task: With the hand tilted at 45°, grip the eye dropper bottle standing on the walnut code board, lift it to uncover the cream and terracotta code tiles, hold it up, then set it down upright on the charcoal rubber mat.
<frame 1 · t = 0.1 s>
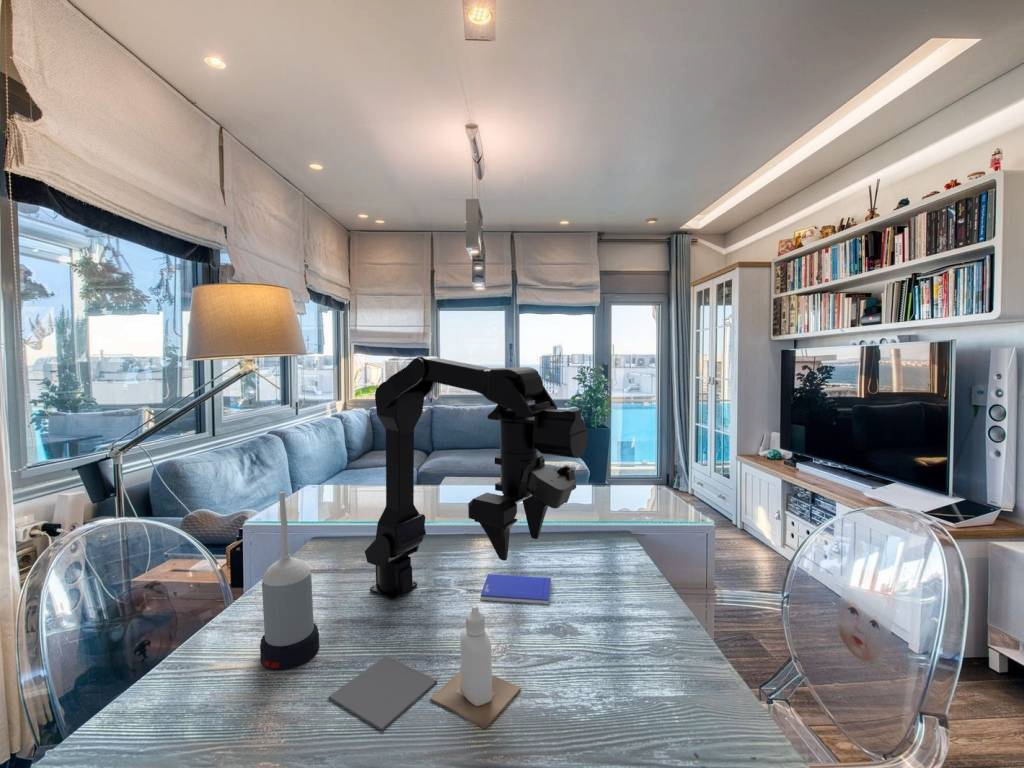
hand: (519, 548, 77), 15 cm above the table, tool pointing down, fingers open, 9 cm apart
hard drive: (516, 594, 93), on the table
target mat: (384, 690, 67), on the table
eye dropper bottle: (476, 693, 66), resting on code board
humidifier: (290, 654, 75), on the table
code board: (476, 694, 66), on the table
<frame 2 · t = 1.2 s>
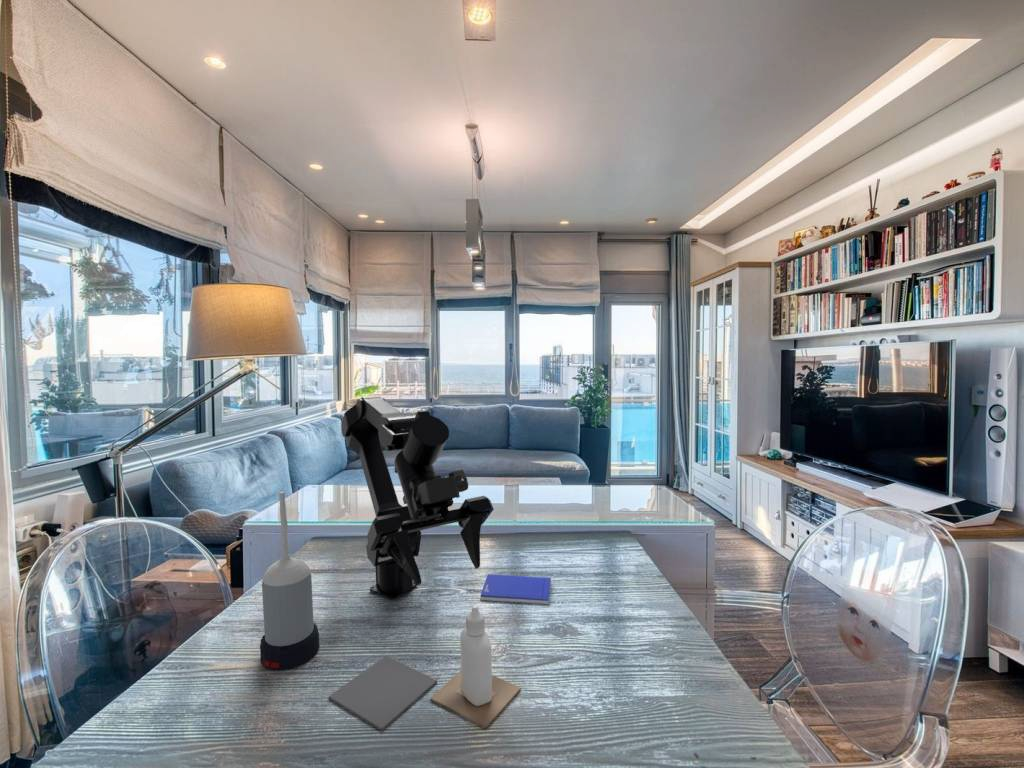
hand: (449, 575, 71), 13 cm above the table, tool tilted 45°, fingers open, 9 cm apart
nothing on the table moved.
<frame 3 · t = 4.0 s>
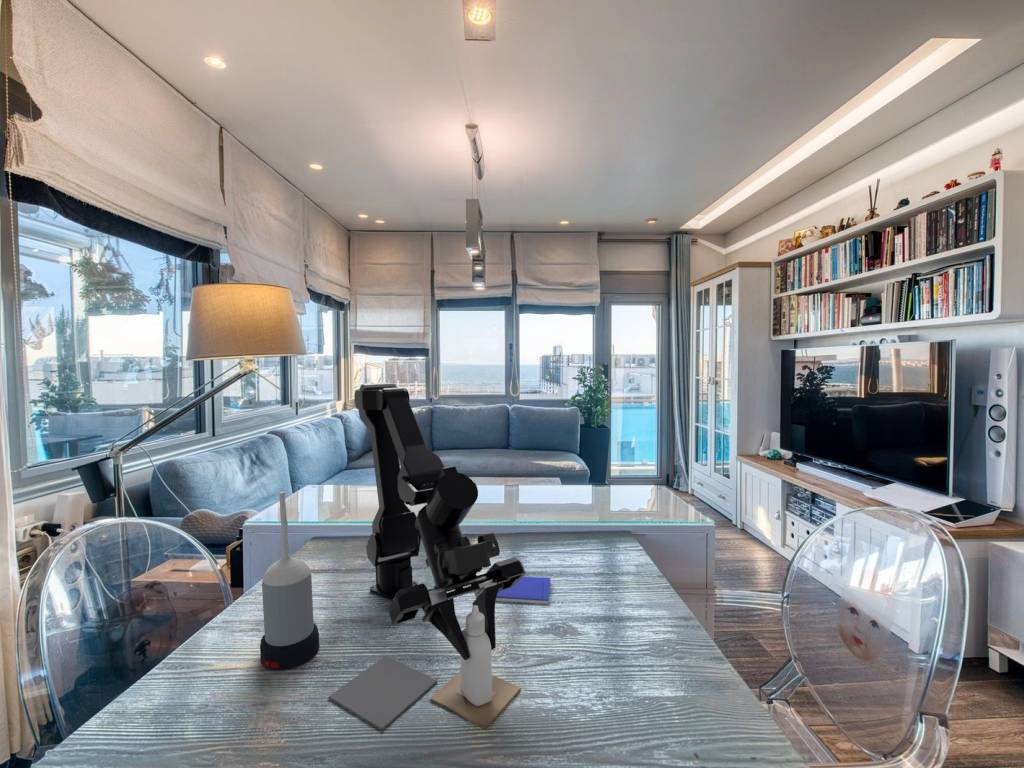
hand: (480, 654, 64), 7 cm above the table, tool tilted 45°, fingers closed on eye dropper bottle, 3 cm apart
eye dropper bottle: (476, 693, 66), resting on code board, touching gripper
everything else where it was.
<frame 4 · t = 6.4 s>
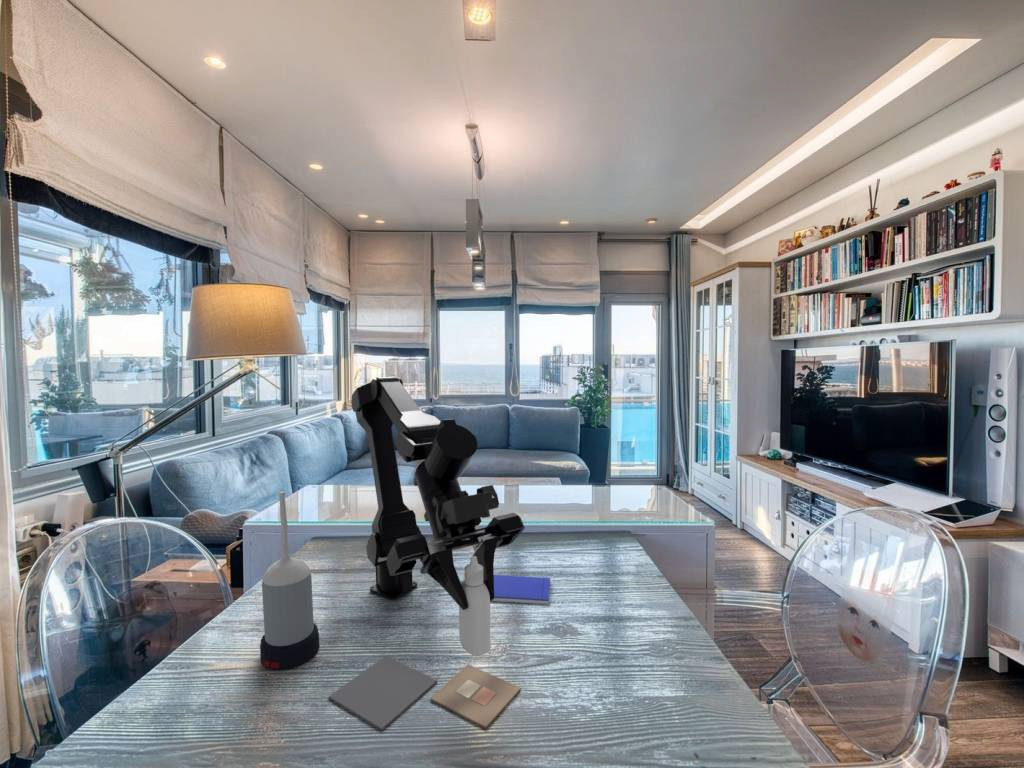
hand: (479, 604, 64), 13 cm above the table, tool tilted 45°, fingers closed on eye dropper bottle, 3 cm apart
eye dropper bottle: (474, 645, 66), point 7 cm above the table, touching gripper
everything else where it was.
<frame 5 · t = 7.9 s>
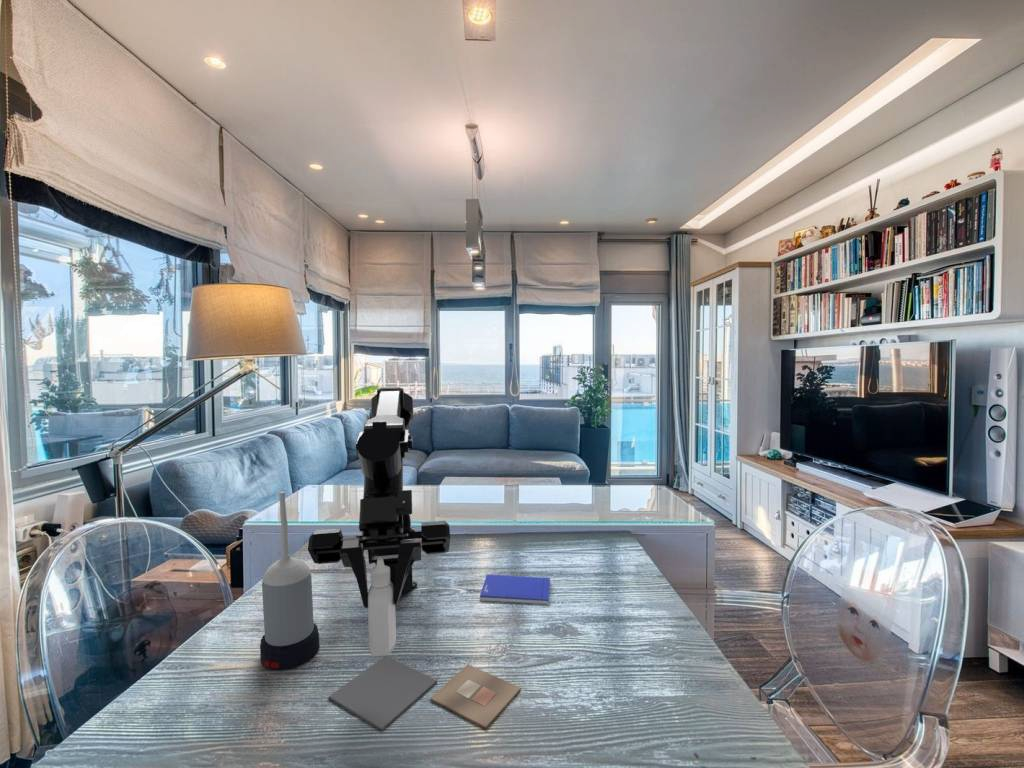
hand: (380, 606, 65), 13 cm above the table, tool tilted 45°, fingers closed on eye dropper bottle, 3 cm apart
eye dropper bottle: (382, 646, 67), point 6 cm above the table, touching gripper
everything else where it was.
when the fingers open (8 cm above the table, at t = 9.2 s): eye dropper bottle drops 1 cm, resting on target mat.
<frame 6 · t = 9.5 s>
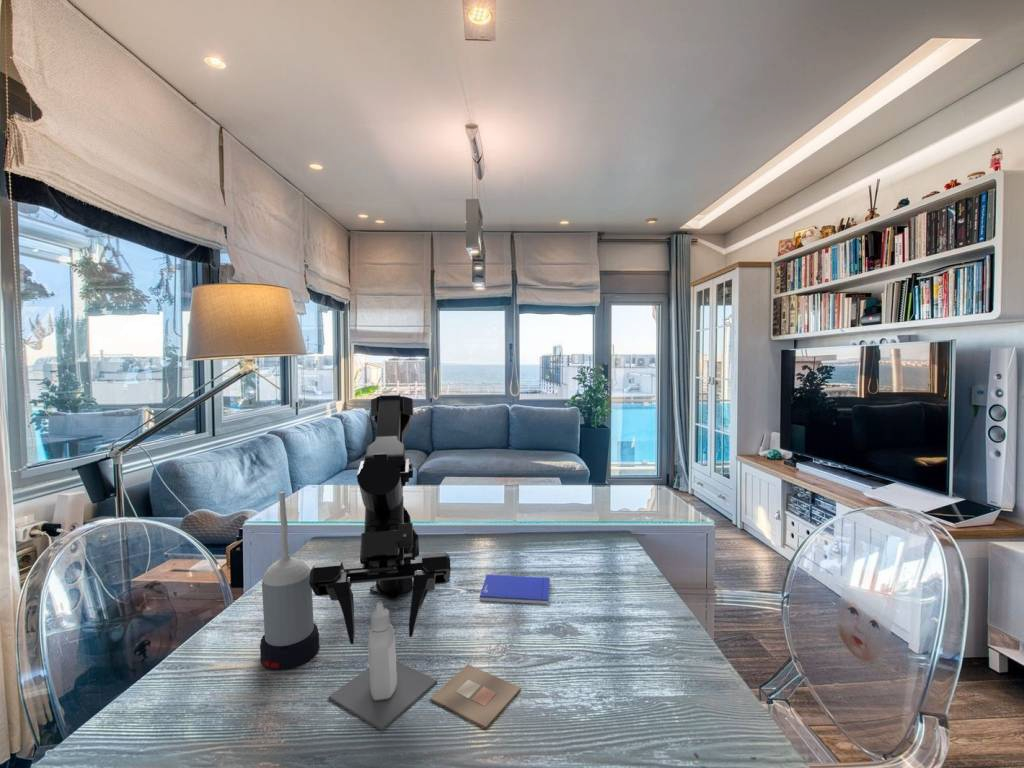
hand: (381, 640, 65), 8 cm above the table, tool tilted 45°, fingers open, 7 cm apart
eye dropper bottle: (384, 688, 67), resting on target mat
everything else where it was.
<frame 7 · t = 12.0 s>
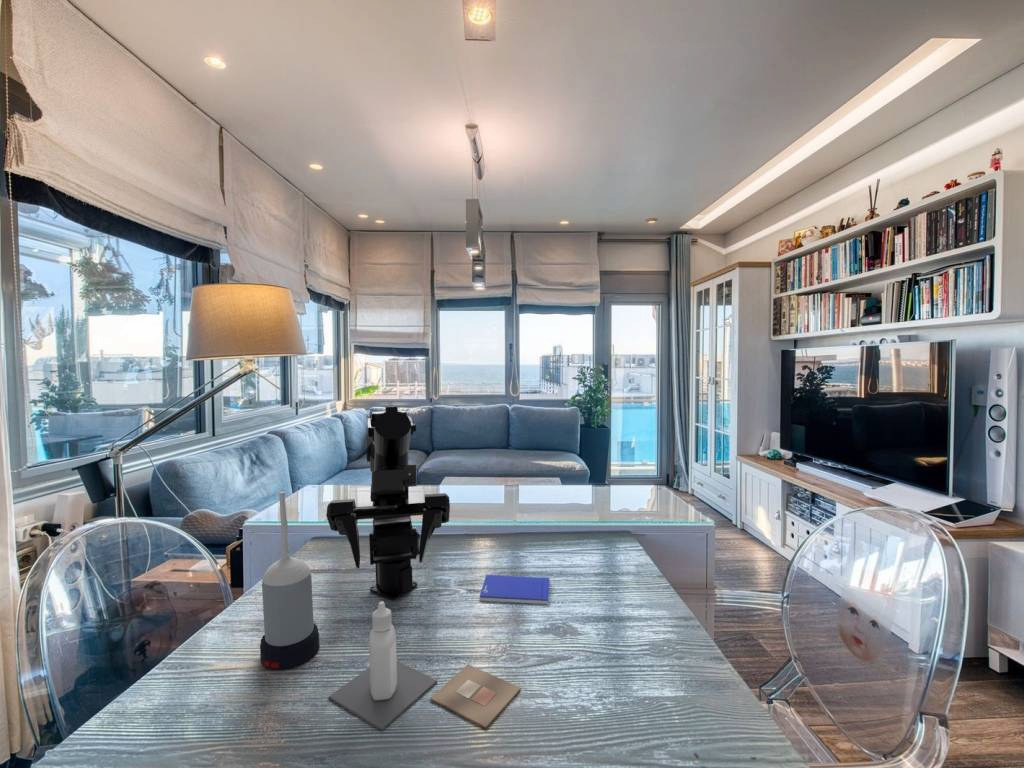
hand: (389, 564, 74), 14 cm above the table, tool tilted 45°, fingers open, 9 cm apart
nothing on the table moved.
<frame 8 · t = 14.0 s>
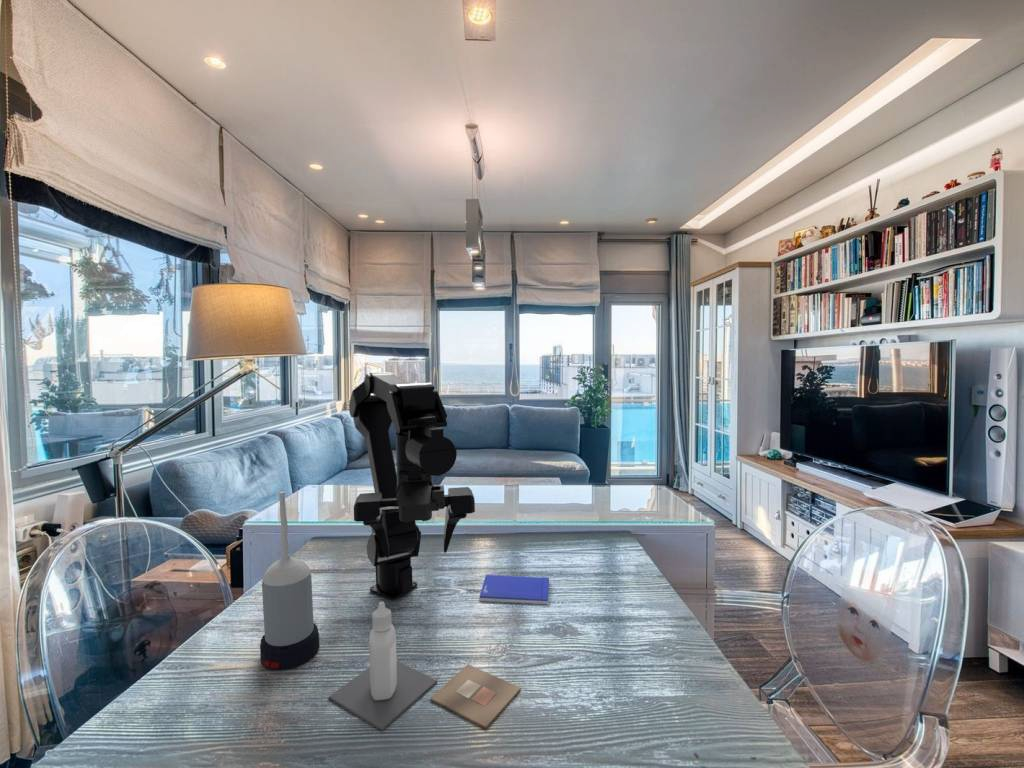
hand: (416, 554, 81), 12 cm above the table, tool pointing down, fingers open, 9 cm apart
nothing on the table moved.
at the end: eye dropper bottle inside the target area on the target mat (0.1 cm from its centre), point 0.1 cm above the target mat's base; eye dropper bottle tilted 0°; the gripper is holding nothing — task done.
